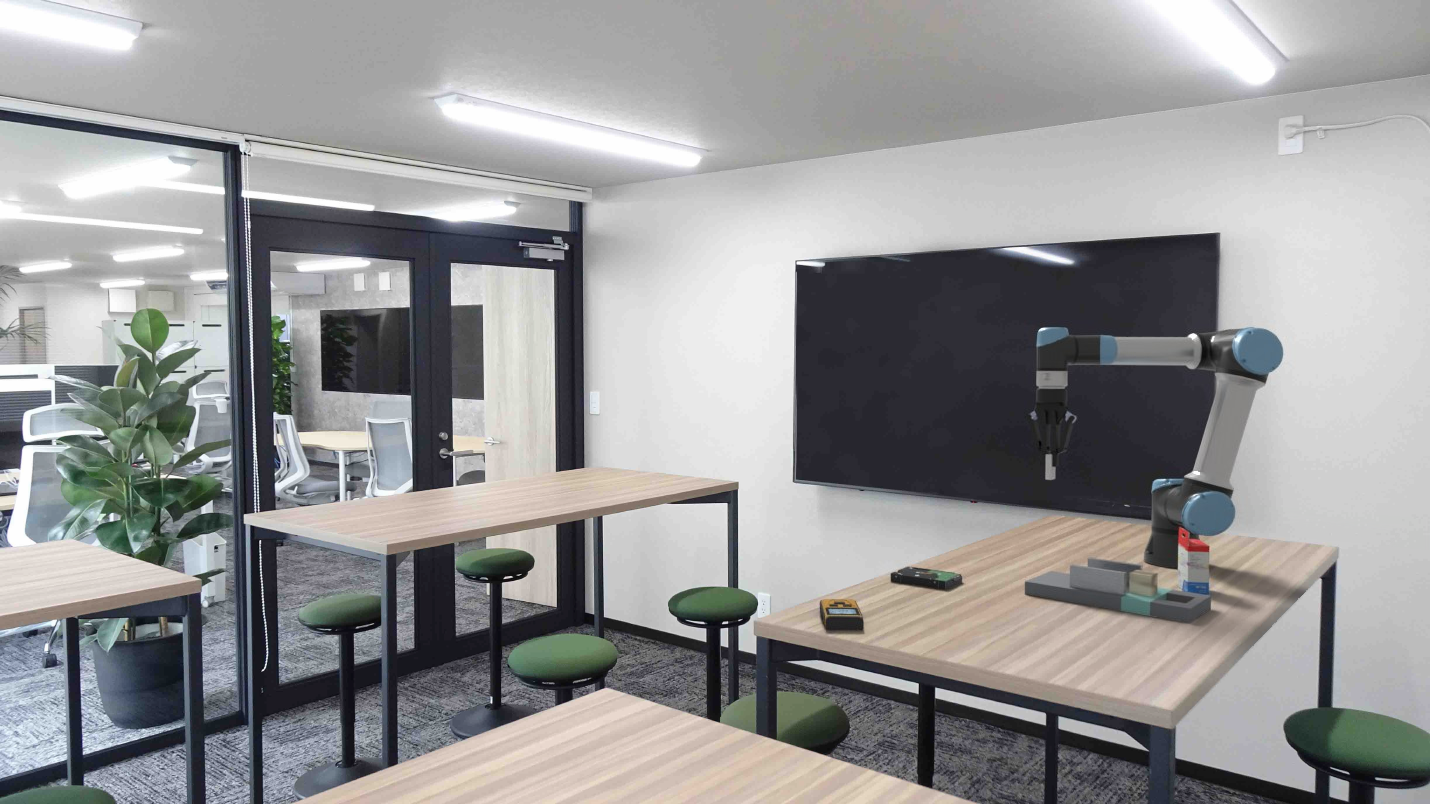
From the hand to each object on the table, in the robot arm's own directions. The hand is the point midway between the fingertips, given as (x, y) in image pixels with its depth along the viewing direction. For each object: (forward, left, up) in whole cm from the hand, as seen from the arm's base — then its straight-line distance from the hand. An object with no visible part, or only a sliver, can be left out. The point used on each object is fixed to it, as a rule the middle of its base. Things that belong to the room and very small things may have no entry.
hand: (1050, 479), depth 239 cm
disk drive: (+30, -18, -25) cm, 43 cm away
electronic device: (+73, -14, -25) cm, 78 cm away
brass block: (+18, +29, -21) cm, 41 cm away
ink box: (-5, +33, -25) cm, 41 cm away
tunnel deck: (+18, +23, -24) cm, 38 cm away
